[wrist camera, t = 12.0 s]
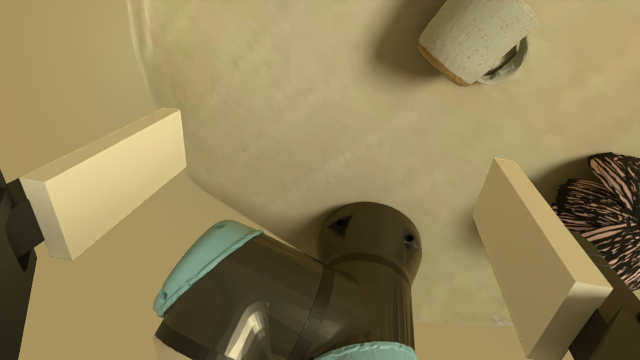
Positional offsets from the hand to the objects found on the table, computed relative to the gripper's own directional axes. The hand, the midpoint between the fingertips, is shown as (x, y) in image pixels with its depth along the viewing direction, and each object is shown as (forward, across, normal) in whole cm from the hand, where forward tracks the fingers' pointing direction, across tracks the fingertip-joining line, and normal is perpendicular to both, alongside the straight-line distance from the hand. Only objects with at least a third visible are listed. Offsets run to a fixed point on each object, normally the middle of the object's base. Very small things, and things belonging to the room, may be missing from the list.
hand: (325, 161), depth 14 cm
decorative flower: (+28, -30, +13) cm, 43 cm away
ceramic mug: (+28, -11, -4) cm, 30 cm away
